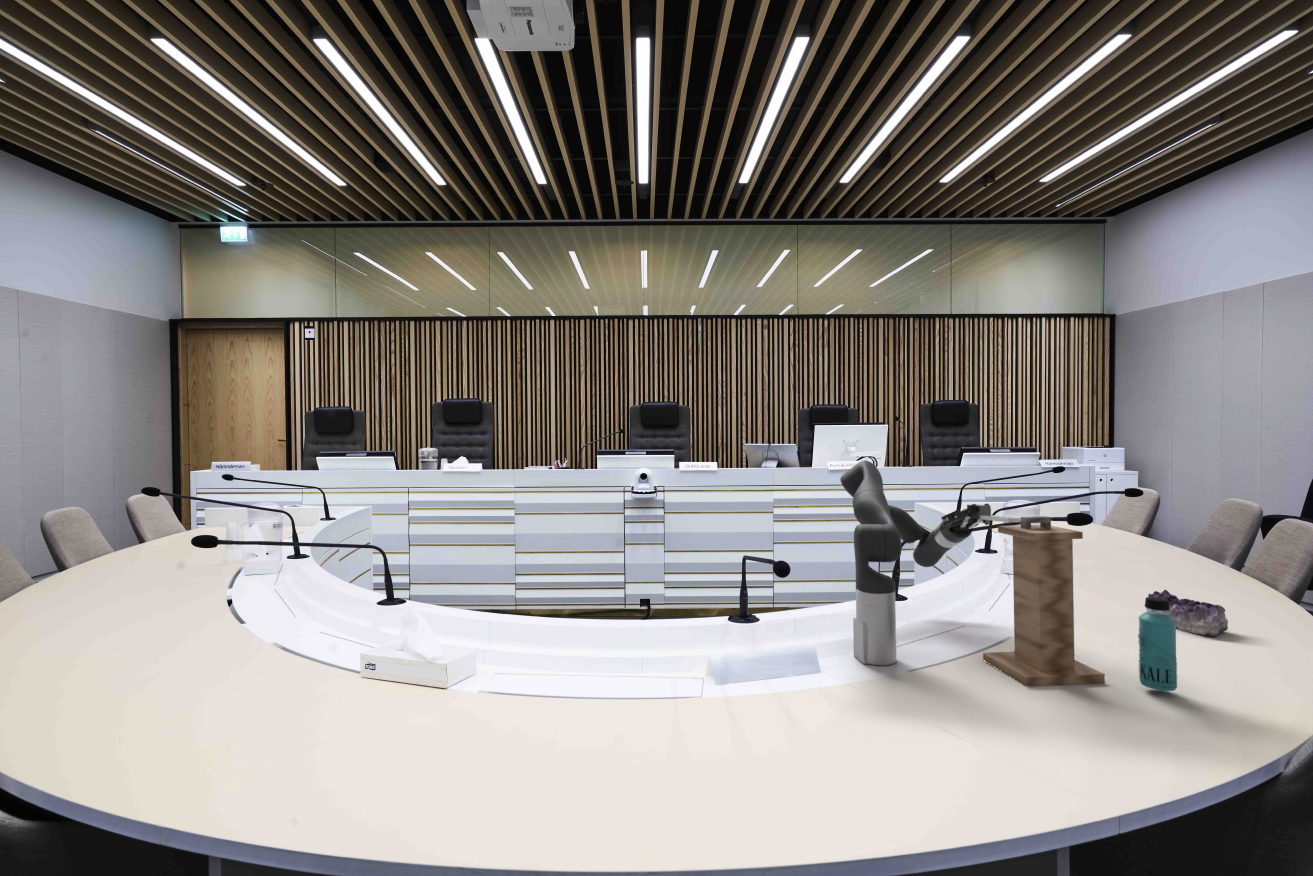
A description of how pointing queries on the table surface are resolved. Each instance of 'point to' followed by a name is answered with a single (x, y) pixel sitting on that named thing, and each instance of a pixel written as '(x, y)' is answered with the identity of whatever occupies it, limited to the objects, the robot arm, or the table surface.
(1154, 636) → the beverage bottle
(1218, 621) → the geode
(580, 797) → the table surface
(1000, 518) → the steel bar
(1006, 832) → the table surface
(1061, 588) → the walnut pedestal
